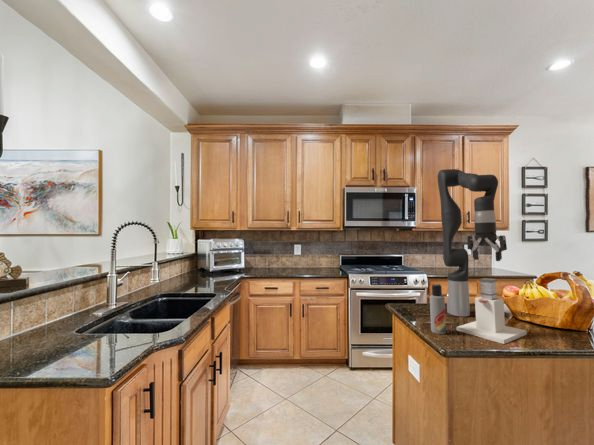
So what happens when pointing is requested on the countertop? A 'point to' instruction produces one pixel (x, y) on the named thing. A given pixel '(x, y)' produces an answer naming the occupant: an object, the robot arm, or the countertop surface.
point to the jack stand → (491, 322)
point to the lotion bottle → (437, 310)
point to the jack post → (488, 288)
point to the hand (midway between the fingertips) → (486, 260)
